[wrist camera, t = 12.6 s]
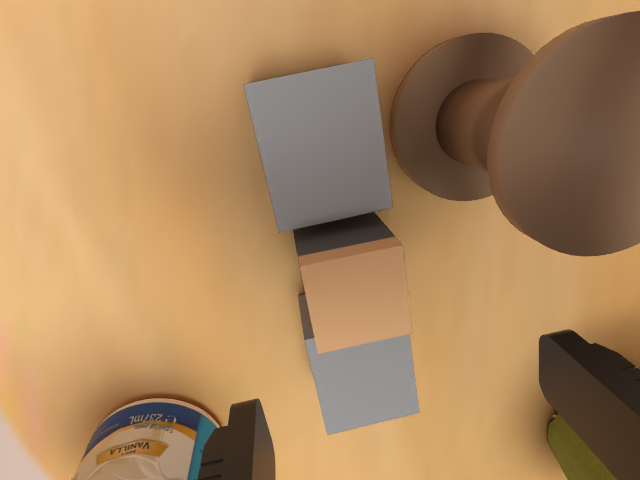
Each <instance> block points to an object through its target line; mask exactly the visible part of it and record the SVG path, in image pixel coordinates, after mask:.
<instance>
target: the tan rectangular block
mask: <svg viewBox="0 0 640 480" xmlns="http://www.w3.org/2000/svg"><path fill="white" fill-rule="evenodd" d="M293 232H294V238H295V243H296V249H297V254H298V260H299V265H300V270H301V275H302V280H303V285H304V290H305V294H306V299H307V304H308V309H309V314H310V319H311V323H312V328H313V333H314V338H315V343H316V348H317V352H318V354H320V353H325V352H329V351H334V350H338V349H343V348H347V347H352V346H357V345H361V344H366V343H370V342H375V341H380V340H384V339H389V338H393V337H398V336H403V335H407V334H412V327H411V318H410V308H409V299H408V289H407V280H406V270H405V261H404V252H403V245H402V244H401V243H400V241H399V240H398V239H397V238H396V237H395V236H394V235H393V233H392V232H391V231H390V230H389V229H388V228H387V226H386V225H385V224H384V223H383V222H382V221H381V220H380V218H379V217H378V216H377V215H376V214H375V213H374V212H371V213H367V214H362V215H357V216H353V217H348V218H344V219H339V220H335V221H330V222H325V223H321V224H316V225H312V226H307V227H303V228H298V229H294V230H293Z"/></svg>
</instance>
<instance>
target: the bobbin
mask: <svg viewBox="0 0 640 480" xmlns="http://www.w3.org/2000/svg"><path fill="white" fill-rule="evenodd" d="M390 130H391V140H392V145H393V149H394V152H395V155H396V157H397V159H398V162H399V164H400V165H401V167H402V168H403V170H404V171H405V173H406V174H407V175H408V176H409V177H410V178H411V179H412V180H413V181H414V182H415V183H417V184H418V185H419V186H421V187H422V188H424V189H425V190H427V191H429V192H430V193H432V194H434V195H436V196H439V197H441V198H445V199H449V200H456V201H471V200H477V199H481V198H485V197H488V196H491V195H493V196H494V198H495V200H496V203H497V205H498V206H499V208H500V210H501V211H502V213H503V215H504V216H505V217H506V218H507V219H508V220H509V222H510V223H511V224H512V225H513V226H515V227H516V228H517V229H518V230H519V231H521V232H522V233H524V234H526V235H527V236H529V237H530V238H532V239H534V240H536V241H538V242H539V243H541V244H543V245H545V246H547V247H548V248H551V249H553V250H556V251H558V252H561V253H565V254H569V255H575V256H599V255H605V254H611V253H614V252H618V251H621V250H625V249H627V248H629V247H632V246H634V245H637V244H639V243H640V11H636V12H628V13H623V14H619V15H614V16H609V17H605V18H600V19H596V20H593V21H589V22H585V23H583V24H580V25H578V26H576V27H573V28H571V29H569V30H567V31H566V32H564V33H562V34H560V35H559V36H557V37H555V38H554V39H553V40H551V41H550V42H549V43H547V44H546V45H545V46H543V47H542V48H541V49H540V50H539V51H538V52H537V53H536V54H535V55H533V54H532V53H531V52H530V51H529V50H528V49H527V48H526V47H524V46H523V45H522V44H521V43H519V42H517V41H515V40H513V39H511V38H509V37H506V36H503V35H498V34H493V33H477V34H470V35H466V36H462V37H459V38H455V39H451V40H449V41H446V42H444V43H442V44H440V45H438V46H436V47H435V48H433V49H431V50H430V51H429V52H427V53H426V54H425V55H424V56H422V57H421V58H420V59H419V60H418V61H417V62H416V63H415V64H414V66H413V67H412V68H411V69H410V71H409V72H408V73H407V75H406V76H405V78H404V80H403V81H402V83H401V85H400V87H399V90H398V92H397V94H396V97H395V100H394V103H393V108H392V113H391V124H390Z"/></svg>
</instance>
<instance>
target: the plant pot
mask: <svg viewBox="0 0 640 480" xmlns="http://www.w3.org/2000/svg"><path fill="white" fill-rule="evenodd" d="M548 443H549V446H550V448H551V450H552V452H553V453H554V455H555V457H556V459H557V461H558V463H559V464H560V466H561V468H562V470H563V472H564V474H565V475H566V477H567V479H568V480H617V479H616V478H615V477H614V476H613V474H612V473H611V472H610V471H609V470H608V469H607V468H606V467H605V465H604V464H603V463H602V462H601V461H600V460H599V459H598V458H597V456H596V455H595V454H594V453H593V452H592V451H591V450H590V449H589V447H588V446H587V445H586V444H585V443H584V442H583V441H582V439H581V438H580V437H579V436H578V435H577V434H576V433H575V432H574V430H573V429H572V428H571V427H570V426H569V425H568V424H567V423H566V421H565V420H564V419H563V418H562V417H561V416H560V415H559V414H558V415H557V417H556V418H555V419H554V420H553V421H552V422H550V424H549V427H548Z"/></svg>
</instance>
